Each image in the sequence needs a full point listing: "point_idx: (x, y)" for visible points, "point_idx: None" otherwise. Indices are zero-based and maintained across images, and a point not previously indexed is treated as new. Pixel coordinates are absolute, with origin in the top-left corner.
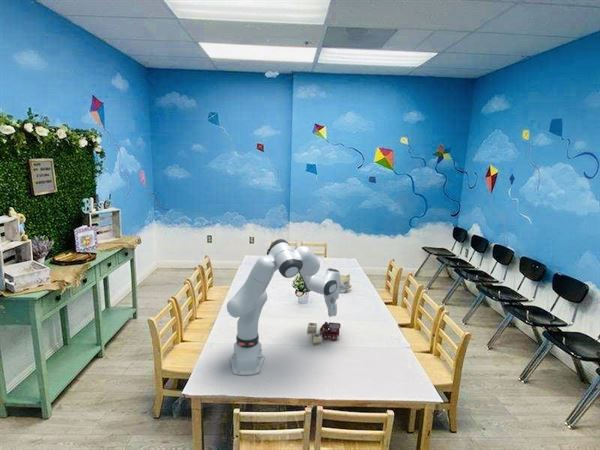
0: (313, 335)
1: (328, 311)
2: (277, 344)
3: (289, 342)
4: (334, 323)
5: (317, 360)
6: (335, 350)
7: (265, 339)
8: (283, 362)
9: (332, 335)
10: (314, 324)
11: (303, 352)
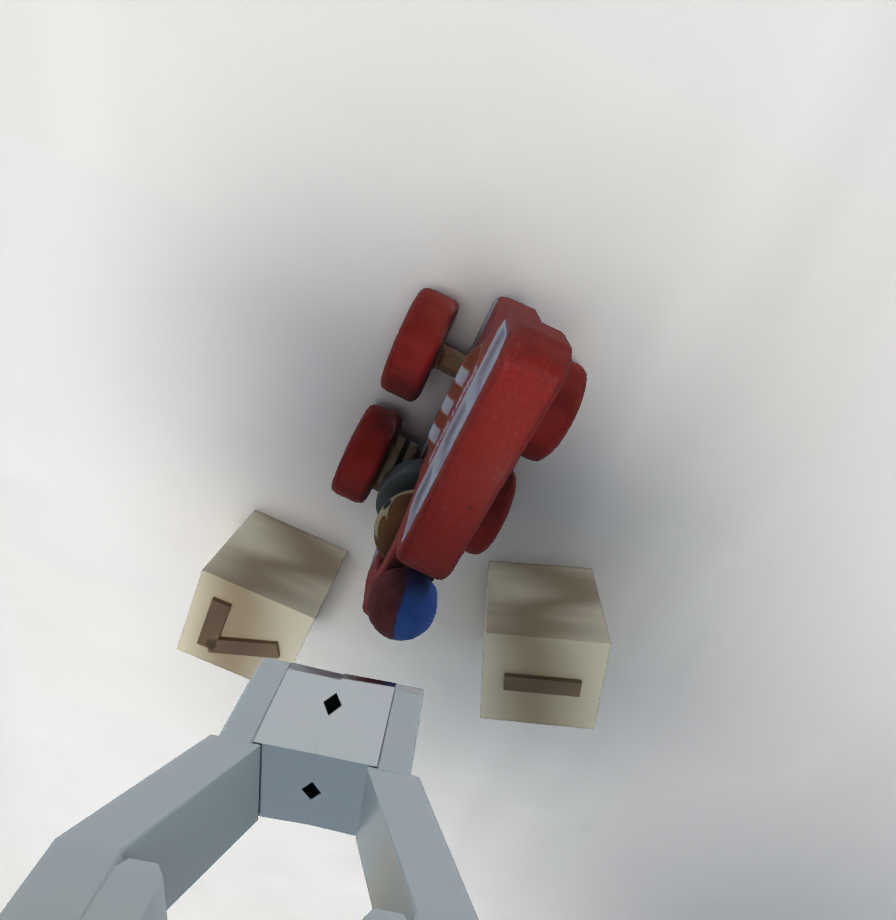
0: (523, 710)
1: (232, 836)
2: (459, 856)
3: (452, 788)
4: (482, 483)
5: (854, 701)
6: (784, 465)
7: None
8: (725, 892)
9: (553, 450)
10: (234, 606)
11: (656, 752)
